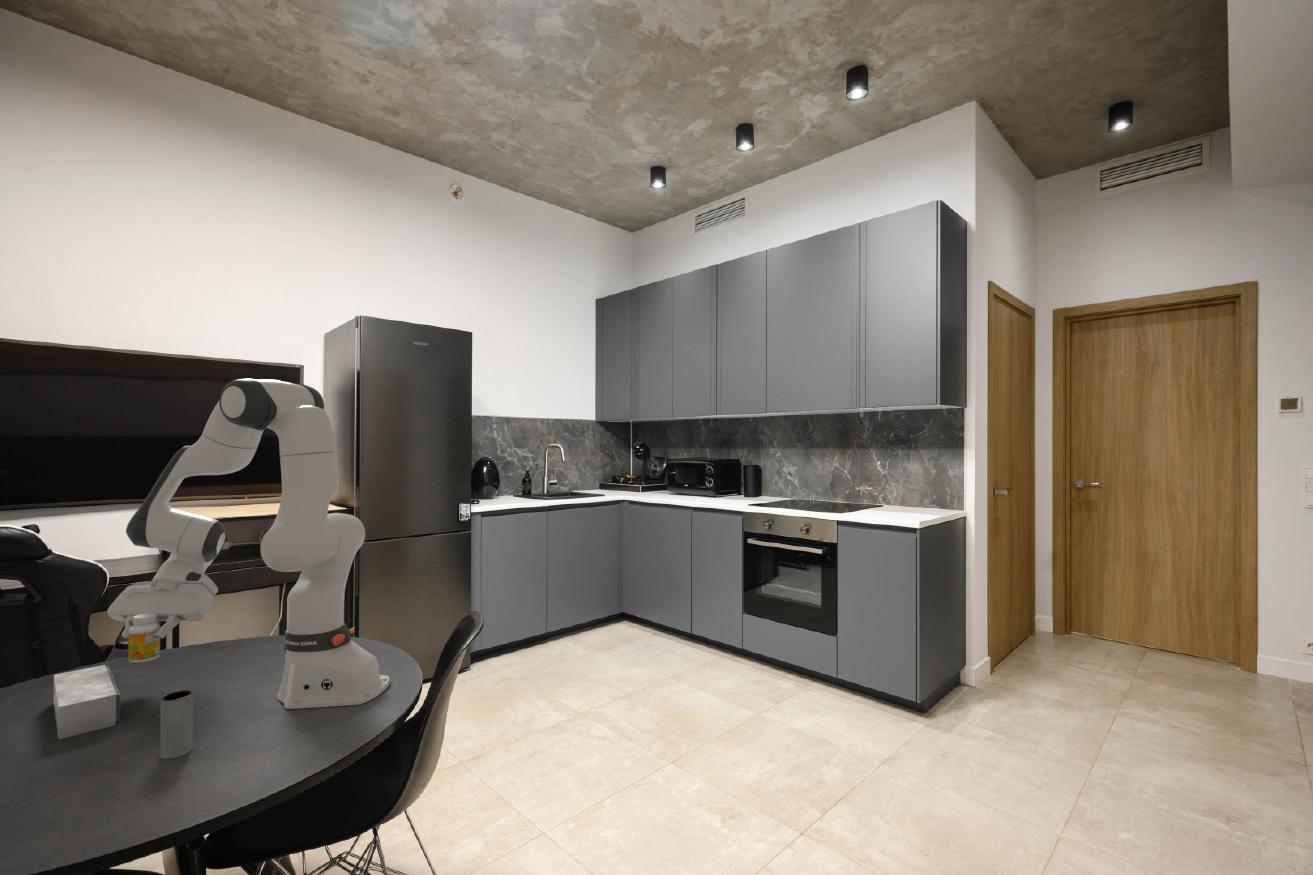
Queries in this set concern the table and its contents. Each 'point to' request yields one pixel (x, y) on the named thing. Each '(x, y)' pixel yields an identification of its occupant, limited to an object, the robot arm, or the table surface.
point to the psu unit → (85, 701)
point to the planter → (176, 724)
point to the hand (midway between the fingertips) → (142, 636)
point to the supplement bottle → (143, 639)
